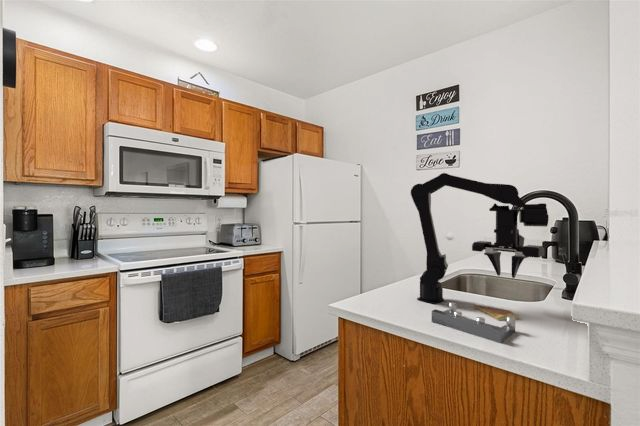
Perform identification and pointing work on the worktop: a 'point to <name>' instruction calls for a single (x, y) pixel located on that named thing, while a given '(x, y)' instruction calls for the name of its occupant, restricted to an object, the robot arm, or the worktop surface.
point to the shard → (496, 312)
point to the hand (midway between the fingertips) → (506, 276)
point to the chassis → (473, 324)
